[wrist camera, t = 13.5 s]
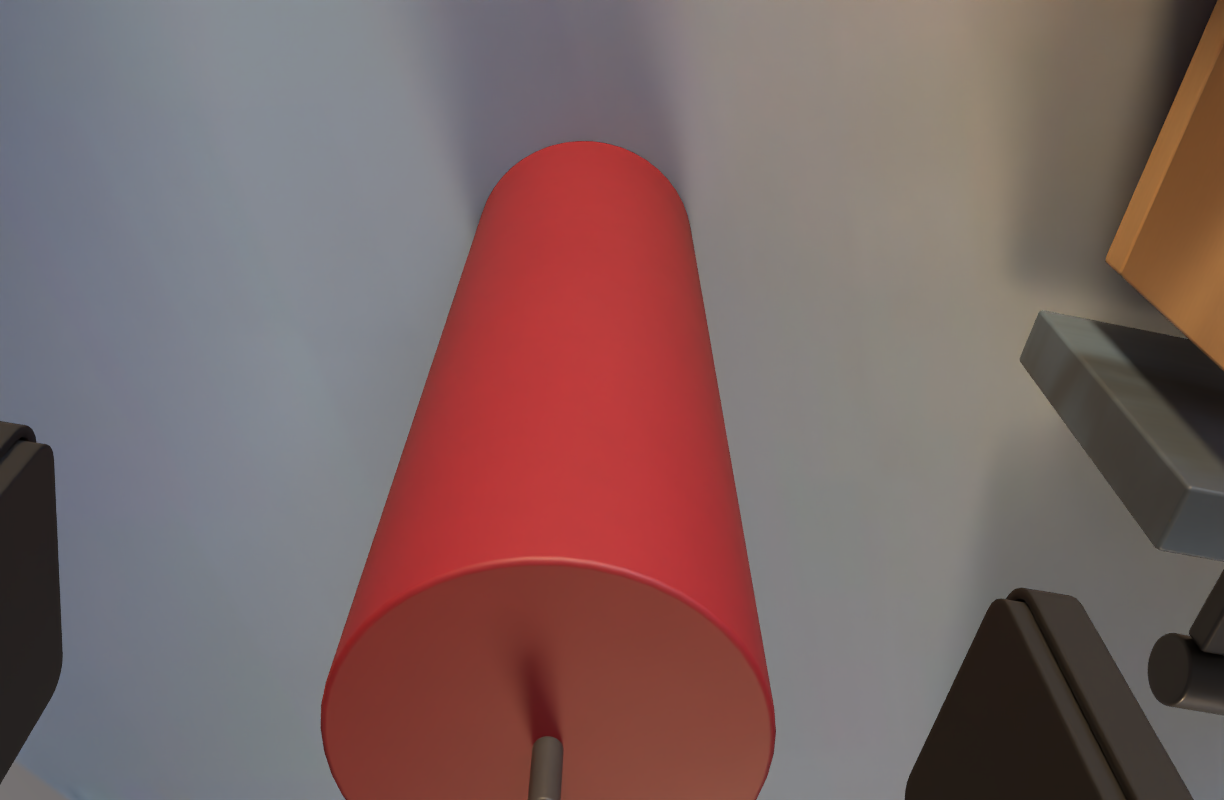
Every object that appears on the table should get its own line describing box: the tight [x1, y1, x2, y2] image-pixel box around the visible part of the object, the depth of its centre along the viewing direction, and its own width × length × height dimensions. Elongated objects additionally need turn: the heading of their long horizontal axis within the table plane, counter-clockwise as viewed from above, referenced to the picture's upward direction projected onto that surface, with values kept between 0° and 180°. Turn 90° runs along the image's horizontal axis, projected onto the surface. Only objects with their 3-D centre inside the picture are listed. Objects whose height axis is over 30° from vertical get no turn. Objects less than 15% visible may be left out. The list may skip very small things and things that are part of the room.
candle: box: [321, 141, 776, 800], centre depth 17 cm, size 4×4×15 cm
